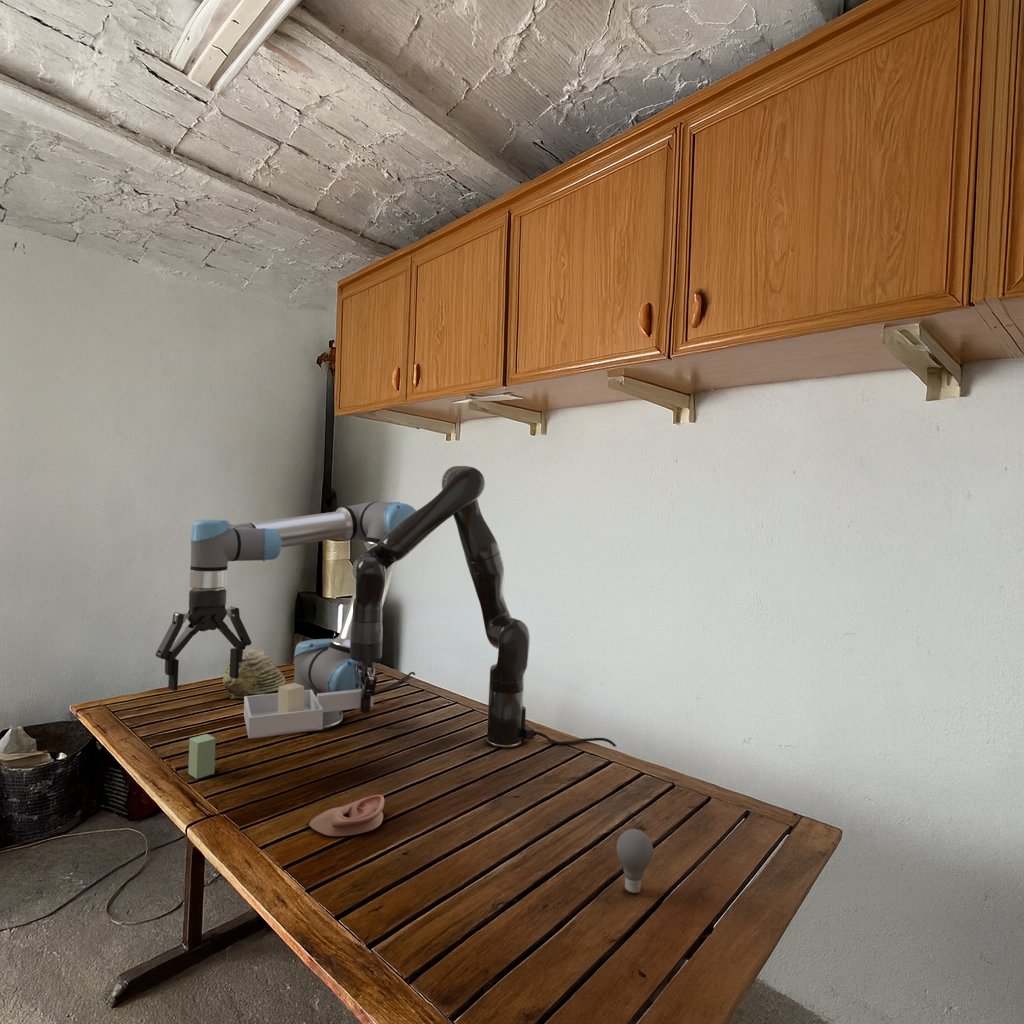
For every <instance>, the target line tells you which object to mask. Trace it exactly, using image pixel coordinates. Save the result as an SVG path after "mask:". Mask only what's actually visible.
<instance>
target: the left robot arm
mask: <svg viewBox="0 0 1024 1024" xmlns="http://www.w3.org/2000/svg"><path fill="white" fill-rule="evenodd" d="M416 511H417V510H416V509H415V507H414V506H412V505H410V504H407V503H403V502H400V501H379V500H377V501H375V500H373V501H368V502H363V503H359V504H354V505H348V506H341V507H338V508H337V509H336V510H335V511H331V512H330V511H329V512H324V513H315V514H307V515H300V516H293V517H292V516H291V517H285V518H276V519H269V520H262V521H261V520H260V521H252V522H245V523H238V524H231V523H230V522H229V521H228V520H226V519H209V518H206V519H205V518H203V519H196V520H195V521H193V523H192V527H191V534H190V566H189V567H190V570H189V587H190V588H191V589H190V590H189V591H188V611H187V613H181V612H176V611H175V612H174V613H173V615H172V620H171V624H170V625H169V627H168V629H167V631H166V633H165V635H164V637H163V639H162V641H161V643H160V645H159V647H158V649H157V650H156V652H155V657H157V658H158V659H161V660H164V673H165V674H164V675H166V676H168V682H167V683H168V685H167V686H168V687H167V688H168V689H169V690H171V691H173V692H176V691H178V690H179V689H178V688H179V663H180V660H179V659H177V657H178V655H179V654H180V653H181V652H182V650H183V649H184V648H185V647H186V646H187V645H188V643H189V642H190V640H191V639H192V638H193V637H194V636H195V635H197V634H198V632H206V631H216V630H218V631H219V632H220V633H221V634H222V635H223V636H224V637H225V638H226V639H227V641H228V642H229V643H230V644H231V645H232V646H233V647H232V648H230V649H229V653H230V654H229V659H230V674H229V676H230V677H232V678H234V679H237V678H238V677H239V663H241V662H242V657H243V650H244V649H245V648H246V647H248V646H251V645H252V640H251V638H250V636H249V634H248V632H247V630H246V628H245V625H244V623H243V621H242V618H241V615H240V614H241V613H240V608H239V607H237V606H232V605H231V606H230V607H229V608H226V604H227V590H226V589H225V588H226V587H227V586H228V564H229V562H243V561H244V562H246V561H247V562H249V561H263V562H265V561H272V560H276V559H278V558H279V556H280V554H281V552H282V549H283V548H287V547H292V546H301V545H307V544H311V543H318V542H324V541H331V540H337V539H340V540H342V541H343V542H347V541H356V540H357V541H364V544H363V545H364V546H365V549H366V551H367V550H368V549H369V548H371V547H372V546H374V545H375V544H376V543H378V542H379V541H381V540H382V539H383V538H384V537H385V536H386V535H387V534H388V533H389V532H390V531H391V530H392V529H393V528H395V527H396V526H397V525H398V524H399V523H400V522H401V521H403V520H404V519H405V518H407V517H408V516H409V515H411V514H412V513H414V512H416ZM397 564H398V561H396V562H394V563H393V564H392V565H391V566H390V567H388V568H387V569H386V580H385V588H384V594H383V599H382V608H384V605H385V604H384V603H385V600H386V597H387V595H388V593H389V592H388V591H389V588H390V585H391V582H392V579H393V576H394V572H395V570H396V567H397ZM355 597H356V586H355V587H354V590H353V593H352V596H351V598H350V602H349V605H348V606H347V607H348V608H347V610H346V613H345V616H344V619H343V623H342V626H341V628H340V631H339V634H338V636H336V637H335V638H319V639H308V640H303V641H300V642H297V644H296V646H295V650H294V655H293V657H294V672H293V683H296V684H299V685H302V686H304V690H312V691H313V692H314V694H315V696H316V698H317V693H327V692H337V691H346V690H356V689H358V688H356V681H355V668H354V665H355V664H358V661H354V660H352V659H351V658H350V636H351V625H352V610H353V601H354V598H355ZM226 617H228V618H229V619H230V621H231V624H232V626H233V628H234V629H235V632H236V634H237V636H236V635H235V633H234V632H233V631H232V630H231V629H230V628H229V626H228V624H226V622H225V621H224V620H225V618H226ZM186 621H188V622H189V623H188V624H187V625H186V627H185V628H184V630H183V632H182V633H181V634H180V636H178V635H179V633H180V631H181V630H182V628H183V624H184V623H186ZM177 637H178V638H177ZM411 675H413V676H416V673H415V672H414V671H410V672H409V673H407V675H405V676H404V677H402V678H401V679H399V680H397V681H396V682H394V683H392V684H390V685H387V686H385V687H382V688H379V689H377V690H376V689H375V692H374V695H375V694H377V693H380V692H383V691H385V690H388V689H391V688H392V687H394V686H396V685H399V684H400V683H401V682H403V681H404V680H406V679H407V678H409V677H410V676H411ZM374 676H376V674H375V675H374ZM343 722H344V714H343V710H339V711H331V712H323V727H322V729H321V730H313V731H305V732H304V733H316V732H325V731H329V730H332V729H335V728H337V727H339V726H340V725H342V723H343Z"/></svg>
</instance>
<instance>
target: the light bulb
mask: <svg viewBox="0 0 1024 1024" xmlns="http://www.w3.org/2000/svg"><path fill="white" fill-rule="evenodd" d="M615 849H616V854H617V857H618V859H619V861H620V863H621V865H622V867H623V873H624V874H623V875H624V876H625V878H624V888H625V890H627V891H628V892H630V893H634V894H635V893H639V892H640V891H641V889H642V887H641V886H642V879H643V877H644V875H645V871H646V868H647V867H648V866H649V864H650V863H651V861H652V859H653V855H654V847H653V843H652V841H651V838H649V836H648V835H647V834H646V833H645V832H643V831H642V830H641V829H636V828H629V829H627V830H625V831H623V832H622V833H621V834H620V835H619V837H618V839H617V841H616V847H615Z"/></svg>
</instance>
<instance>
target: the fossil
mask: <svg viewBox="0 0 1024 1024" xmlns="http://www.w3.org/2000/svg"><path fill="white" fill-rule="evenodd" d="M229 674H230V658H229V659H228V660H227V663H226V666H225V668H224V671H223V675H222V676H223V677H222V685H223V687H224V688H225V690H226V691H228V693H229V698H230V699H244V697H245V696H254V695H264V694H274V693H278V687H279V686H282V685H287V680H286V678H285V676H284V674H283V673H282V672H281V669H279V668H278V667H277V665H276V663H275V662H274V660H273V659H272V658H271V657H270V656H269V655H268V654H267V653H266V652H265V650H264V649H263V648H260V647H258V648H251V647H248V646H246V648H245V649H244V650H243V657H242V662H241V663H239V677H238V678H237V679H234V678H232V677H230V676H229Z"/></svg>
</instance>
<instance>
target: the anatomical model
mask: <svg viewBox="0 0 1024 1024" xmlns="http://www.w3.org/2000/svg"><path fill="white" fill-rule="evenodd" d="M384 806H385V798H384V795H382V794H374V795H369V796H367V797H363V798H361V799H358V800H355V801H353V802H350V803H348V804H345V805H343V806H338V807H333V808H330V809H328V810H325V811H324V812H322V813H320V814H318V815H317V816H315V817H314V818H312V819H311V820H310V821H309V823H308V825H309V827H310V828H311V829H312V830H314V831H315V832H317V833H319V834H322V835H324V836H327V837H346V836H355V835H359V834H364V833H367V832H370V831H373V830H375V829H377V828H378V827H380V826H381V824H382V823H383V820H384V813H383V810H384Z"/></svg>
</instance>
